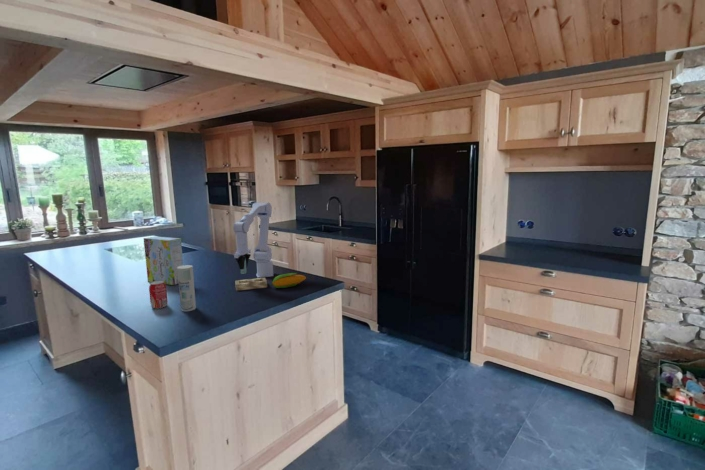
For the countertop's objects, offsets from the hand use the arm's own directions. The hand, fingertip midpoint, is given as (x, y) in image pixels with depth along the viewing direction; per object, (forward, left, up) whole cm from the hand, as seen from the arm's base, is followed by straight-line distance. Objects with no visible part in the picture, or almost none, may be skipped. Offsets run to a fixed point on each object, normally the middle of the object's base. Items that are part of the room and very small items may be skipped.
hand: (243, 268), depth 203 cm
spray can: (+27, +26, -10) cm, 39 cm away
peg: (0, 0, -3) cm, 3 cm away
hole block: (-3, +3, -10) cm, 11 cm away
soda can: (+40, +18, -10) cm, 45 cm away
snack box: (+42, -26, -10) cm, 50 cm away
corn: (-23, +9, -11) cm, 27 cm away
